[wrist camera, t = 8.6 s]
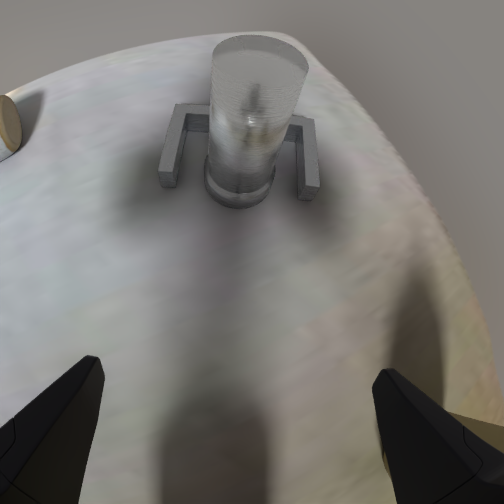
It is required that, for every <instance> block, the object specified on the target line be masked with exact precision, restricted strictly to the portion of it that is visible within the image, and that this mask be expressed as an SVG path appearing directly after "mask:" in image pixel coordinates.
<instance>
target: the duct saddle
mask: <svg viewBox="0 0 504 504" xmlns="http://www.w3.org/2000/svg"><path fill="white" fill-rule="evenodd" d="M209 118H210V106H208V105H192V104H175V107H174V111H173V114H172V118H171V121H170V125H169V128H168V132H167V136H166V140H165V143H164V147H163V151H162V155H161V159H160V163H159V168H158V174H159V178H160V182H161V186H162V187H172V188H175V186H176V181H177V176H178V171H179V166H180V161H181V156H182V151H183V147H184V142H185V137H186V133H187V131H201V132H209ZM284 140H285V141H291V142H296V157H297V187H298V200H305V201H311V200H312V199H313V197H314V196H315V194H316V193H317V191H318V189H319V188H320V180H319V167H318V155H317V144H316V133H315V124H314V119H310V118H305V117H299V116H293V115H292V117H291V120H290V123H289V126H288V129H287V131H286V134H285V137H284Z"/></svg>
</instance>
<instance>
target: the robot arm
mask: <svg viewBox="0 0 504 504" xmlns="http://www.w3.org/2000/svg"><path fill="white" fill-rule="evenodd" d="M104 381H105V375H104V371H103V368H102V365H101V361H100V359H99V358H98V357H96V356H90V355H87V356H85V357H83V358H82V359H81V360H80V361H79V362H77V363H76V364H75V365H74V366H73V367H71V368H70V369H69V370H68V371H67V372H65V373H64V374H63V375H62V376H61V377H59V378H58V379H57V380H56V381H55V382H53V383H52V384H51V385H50V386H49V387H48V388H46V389H45V390H44V391H43V392H42V393H40V394H39V395H38V396H37V397H36V398H35V399H33V400H32V401H31V402H30V403H29V404H28V405H26V406H25V407H24V408H23V409H22V410H21V411H19V412H18V413H17V414H16V415H15V416H14V418H11V419H10V420H9V421H8V422H7V423H6V424H4V425H3V426H2V427H1V428H0V504H78V502H79V497H80V492H81V487H82V483H83V478H84V473H85V469H86V465H87V461H88V456H89V452H90V448H91V445H92V441H93V437H94V433H95V430H96V426H97V422H98V416H99V410H100V404H101V398H102V392H103V387H104ZM372 393H373V399H374V404H375V410H376V416H377V423H378V428H379V432H380V436H381V439H382V443H383V447H384V451H385V455H386V459H387V463H388V467H389V471H390V475H391V479H392V483H393V488H394V492H395V497H396V501H397V504H504V453H503V452H501V451H499V450H498V449H496V448H495V447H493V446H492V445H490V444H489V443H487V442H486V441H484V440H483V439H481V438H480V437H478V436H477V435H476V434H475V433H473V432H472V431H471V430H469V429H468V428H467V427H466V426H464V425H462V423H461V422H459V421H458V420H457V419H456V418H454V417H453V416H452V415H451V414H449V413H448V412H447V411H446V410H444V409H443V408H442V407H441V406H439V405H438V404H437V403H436V402H434V401H433V400H432V399H431V398H430V397H428V396H427V395H426V394H425V393H423V392H422V391H421V390H420V389H418V388H417V387H416V386H415V385H413V384H412V383H411V382H410V381H408V380H407V379H406V378H405V377H403V376H402V375H401V374H400V373H399V372H397V371H396V370H395V369H393V368H387V369H382V370H381V371H380V373H379V374H378V376H377V378H376V380H375V382H374V383H373V386H372Z"/></svg>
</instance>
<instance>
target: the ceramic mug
mask: <svg viewBox="0 0 504 504" xmlns="http://www.w3.org/2000/svg"><path fill="white" fill-rule="evenodd" d="M21 139H22V127H21V122H20V117H19V114H18V111H17V108H16V106H15V104H14V102H13V101H12V99H11V98H9V97H8V96H6V95H1V96H0V161H2V160H4V159H6V158H7V157H9V156H10V155H11V154H13V153H14V152H15V151H16V150H17V149H18V148H19V146H20V143H21Z"/></svg>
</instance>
